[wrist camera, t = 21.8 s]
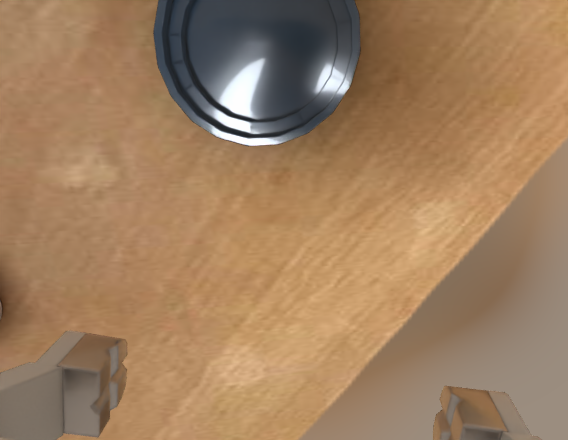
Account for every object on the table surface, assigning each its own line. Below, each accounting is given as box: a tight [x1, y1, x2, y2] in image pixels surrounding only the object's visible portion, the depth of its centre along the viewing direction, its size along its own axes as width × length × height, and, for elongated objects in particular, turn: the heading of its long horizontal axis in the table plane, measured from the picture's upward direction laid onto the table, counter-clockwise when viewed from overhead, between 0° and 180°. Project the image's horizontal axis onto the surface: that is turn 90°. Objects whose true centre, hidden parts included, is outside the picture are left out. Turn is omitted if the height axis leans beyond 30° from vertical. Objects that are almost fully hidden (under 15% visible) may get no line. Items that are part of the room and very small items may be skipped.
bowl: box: [153, 0, 361, 146], centre depth 36 cm, size 14×14×3 cm
